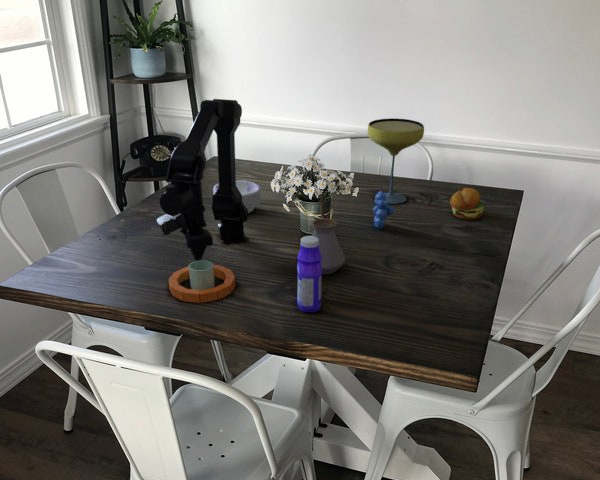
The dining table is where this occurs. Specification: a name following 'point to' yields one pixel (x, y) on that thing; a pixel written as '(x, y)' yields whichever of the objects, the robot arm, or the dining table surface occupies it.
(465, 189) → the cheeseburger
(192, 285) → the cup
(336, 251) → the coffee pot
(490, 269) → the dining table surface
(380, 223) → the grapes
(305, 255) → the bottle
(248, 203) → the paper bowls
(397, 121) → the cocktail glass
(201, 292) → the ring
